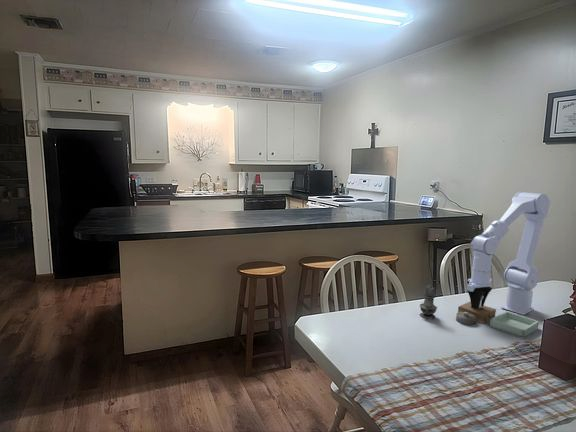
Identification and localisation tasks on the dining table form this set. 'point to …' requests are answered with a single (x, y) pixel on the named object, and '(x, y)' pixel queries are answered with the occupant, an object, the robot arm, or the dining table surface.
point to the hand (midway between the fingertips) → (477, 306)
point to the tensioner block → (474, 314)
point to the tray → (514, 324)
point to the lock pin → (480, 304)
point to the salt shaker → (428, 304)
